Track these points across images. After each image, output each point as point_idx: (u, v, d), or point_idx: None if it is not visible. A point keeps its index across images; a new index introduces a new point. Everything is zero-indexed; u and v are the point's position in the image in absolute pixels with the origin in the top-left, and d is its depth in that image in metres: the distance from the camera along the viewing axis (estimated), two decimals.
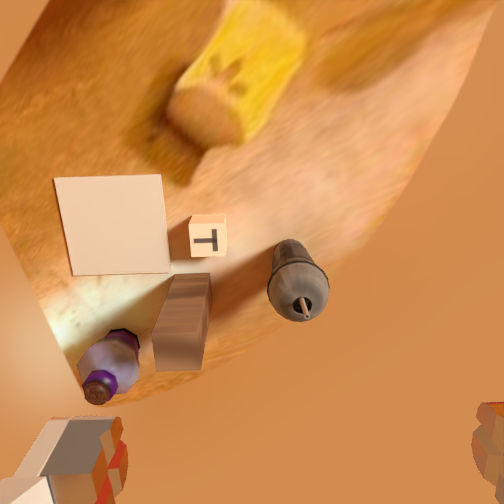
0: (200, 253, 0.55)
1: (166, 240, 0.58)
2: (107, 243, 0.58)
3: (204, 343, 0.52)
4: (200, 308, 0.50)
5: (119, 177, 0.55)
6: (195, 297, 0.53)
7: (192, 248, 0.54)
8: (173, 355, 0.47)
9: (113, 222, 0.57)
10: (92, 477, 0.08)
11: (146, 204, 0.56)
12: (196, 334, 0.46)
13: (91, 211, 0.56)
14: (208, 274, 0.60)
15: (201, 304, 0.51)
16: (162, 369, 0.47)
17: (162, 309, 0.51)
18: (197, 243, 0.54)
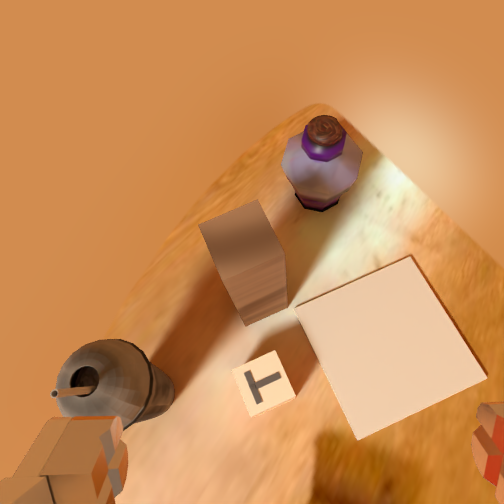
0: (265, 358, 0.39)
1: (315, 349, 0.43)
2: (386, 315, 0.44)
3: None
4: (234, 299, 0.35)
5: (407, 413, 0.40)
6: (248, 303, 0.38)
7: (278, 362, 0.39)
8: (242, 232, 0.32)
9: (390, 347, 0.42)
10: (92, 477, 0.08)
11: (359, 389, 0.41)
12: (221, 276, 0.30)
13: (423, 351, 0.42)
14: (246, 324, 0.45)
15: (236, 302, 0.36)
16: (250, 206, 0.32)
17: (284, 277, 0.36)
18: (274, 372, 0.39)
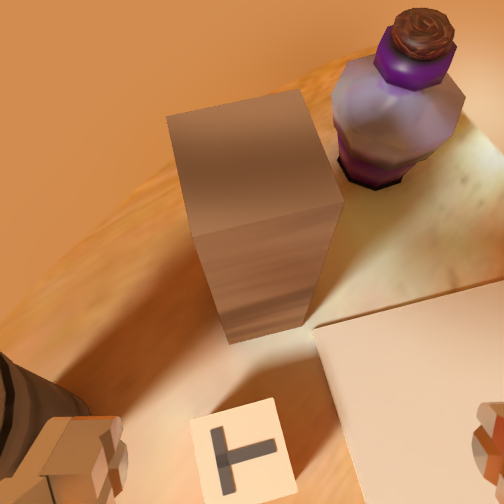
0: (253, 410, 0.22)
1: (338, 405, 0.25)
2: (463, 367, 0.26)
3: None
4: (215, 291, 0.18)
5: None
6: (240, 306, 0.21)
7: (274, 422, 0.21)
8: (256, 144, 0.14)
9: (465, 423, 0.25)
10: (92, 477, 0.08)
11: (405, 490, 0.23)
12: (192, 227, 0.13)
13: None
14: (230, 342, 0.27)
15: (218, 298, 0.19)
16: (282, 98, 0.15)
17: (318, 266, 0.18)
18: (265, 438, 0.21)
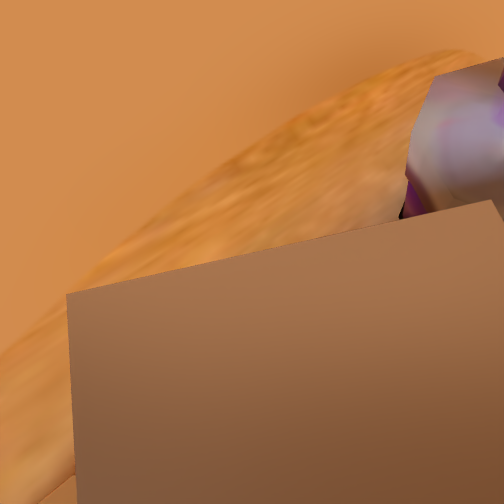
0: None
1: None
2: None
3: None
4: None
5: None
6: None
7: None
8: (378, 429, 0.04)
9: None
10: None
11: None
12: None
13: None
14: None
15: None
16: (444, 233, 0.05)
17: None
18: None
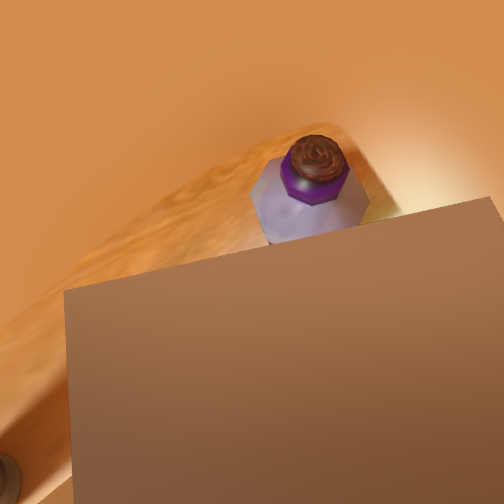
0: None
1: None
2: None
3: None
4: None
5: None
6: None
7: None
8: (376, 427, 0.04)
9: None
10: None
11: None
12: None
13: None
14: None
15: None
16: (443, 231, 0.05)
17: None
18: None
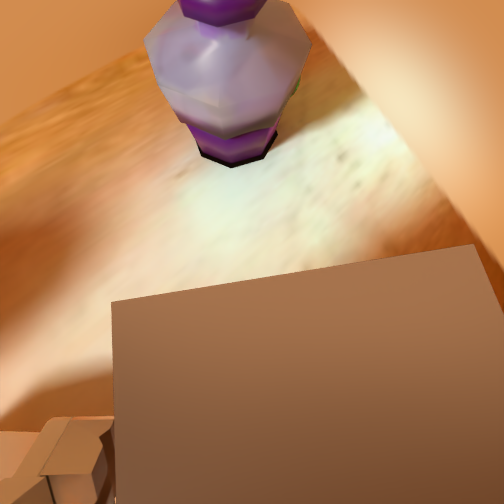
0: None
1: None
2: None
3: None
4: None
5: None
6: None
7: None
8: (361, 431, 0.05)
9: None
10: (92, 477, 0.08)
11: None
12: None
13: None
14: None
15: None
16: (431, 272, 0.06)
17: None
18: None
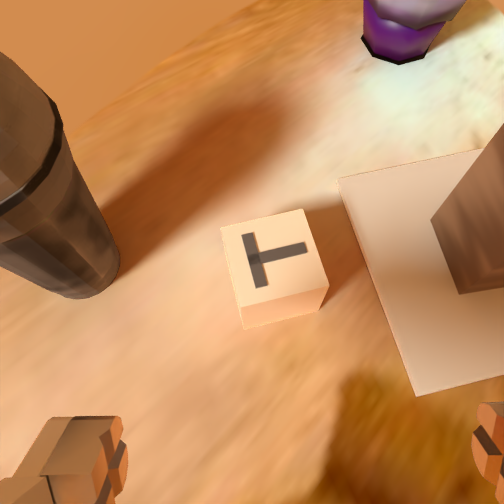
0: (283, 219, 0.22)
1: (363, 242, 0.26)
2: None
3: None
4: None
5: None
6: None
7: (304, 228, 0.22)
8: None
9: None
10: (92, 477, 0.08)
11: (430, 315, 0.24)
12: None
13: None
14: (465, 291, 0.24)
15: None
16: None
17: None
18: (296, 241, 0.21)
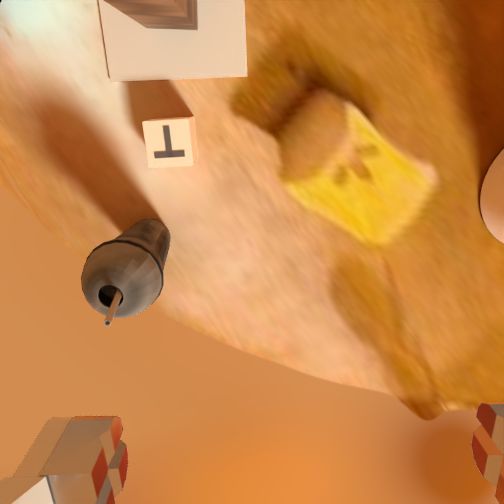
0: (147, 133, 0.41)
1: (157, 78, 0.43)
2: None
3: (117, 5, 0.30)
4: (181, 6, 0.31)
5: (242, 16, 0.41)
6: (186, 0, 0.33)
7: (154, 123, 0.40)
8: None
9: None
10: (92, 477, 0.08)
11: (206, 53, 0.42)
12: None
13: None
14: (197, 27, 0.40)
15: (183, 8, 0.32)
16: None
17: None
18: (162, 129, 0.41)
